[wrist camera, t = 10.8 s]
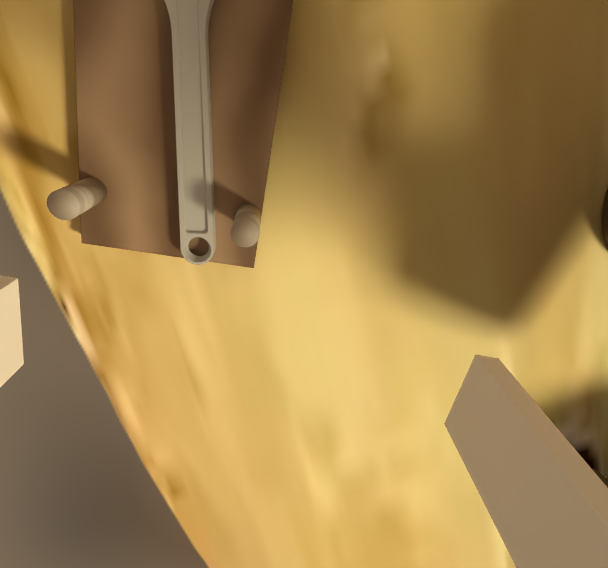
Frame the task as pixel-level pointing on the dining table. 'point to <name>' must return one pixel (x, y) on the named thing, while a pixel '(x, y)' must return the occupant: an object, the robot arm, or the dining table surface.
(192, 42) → the adjustable wrench
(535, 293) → the dining table surface
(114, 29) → the rack
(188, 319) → the dining table surface
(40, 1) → the dining table surface
